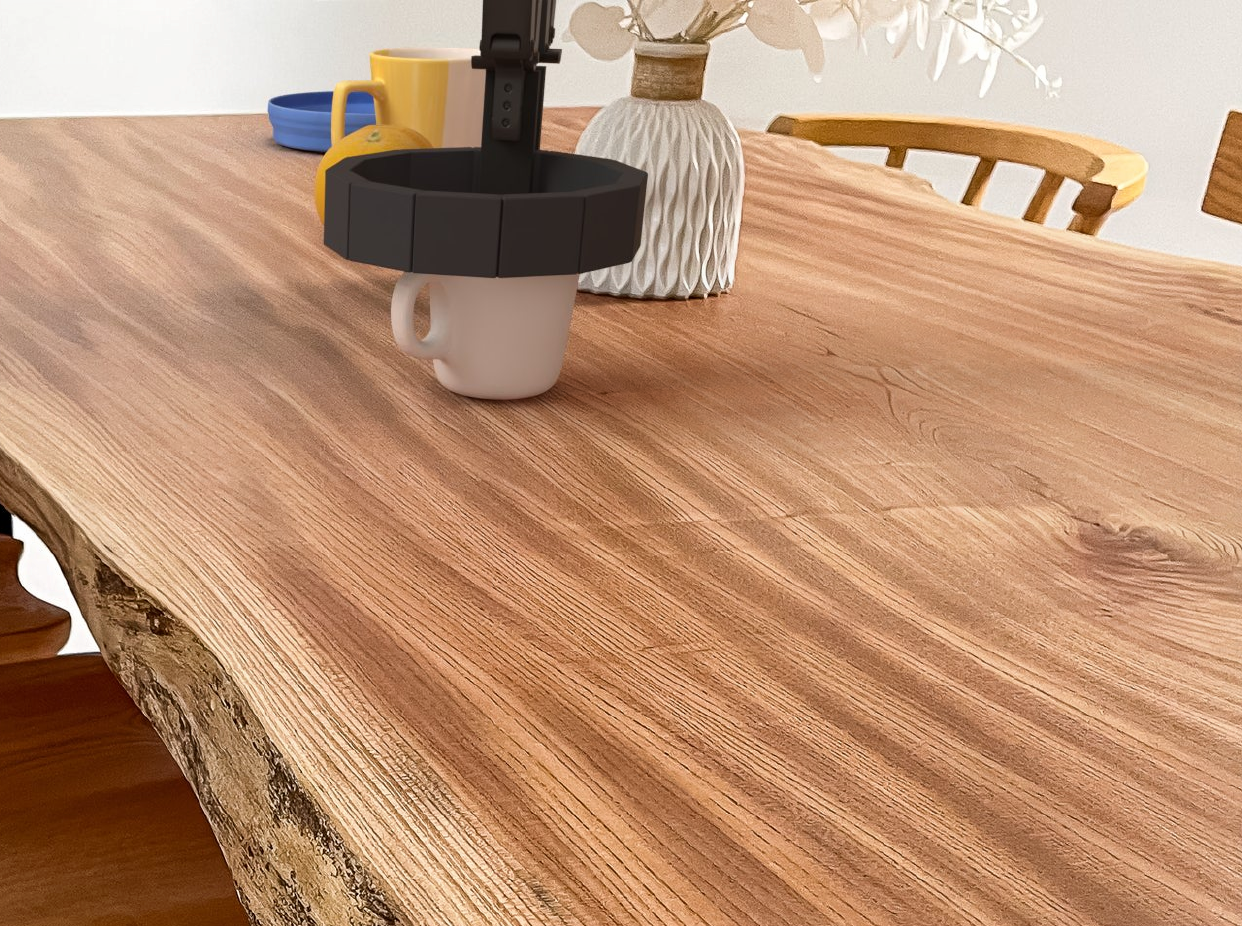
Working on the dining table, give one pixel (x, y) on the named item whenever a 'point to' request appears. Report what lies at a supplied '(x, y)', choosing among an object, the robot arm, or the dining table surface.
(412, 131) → the fruit
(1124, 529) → the dining table surface
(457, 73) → the mug
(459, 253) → the ring
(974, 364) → the dining table surface
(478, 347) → the cup
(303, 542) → the dining table surface
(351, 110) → the bowl
